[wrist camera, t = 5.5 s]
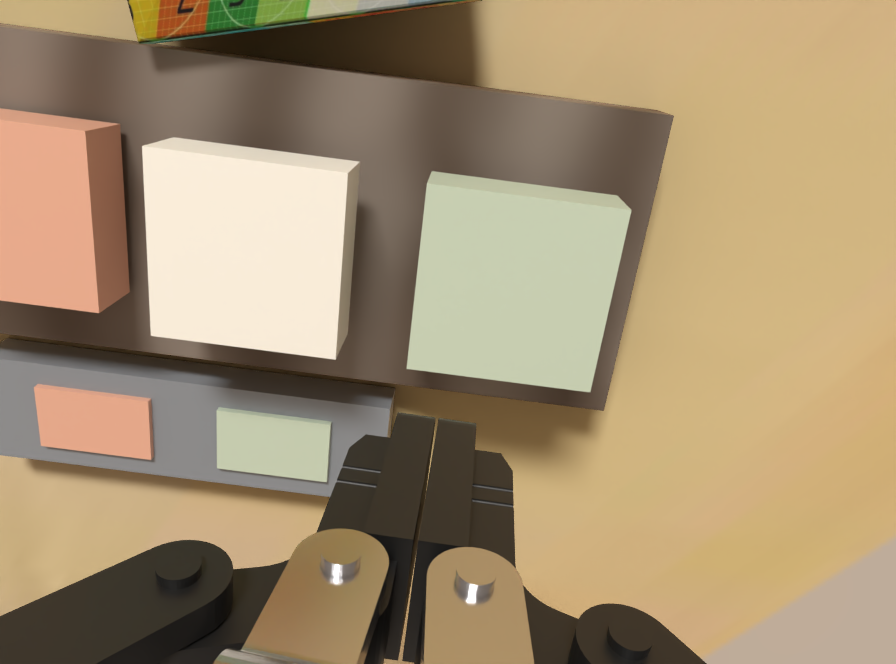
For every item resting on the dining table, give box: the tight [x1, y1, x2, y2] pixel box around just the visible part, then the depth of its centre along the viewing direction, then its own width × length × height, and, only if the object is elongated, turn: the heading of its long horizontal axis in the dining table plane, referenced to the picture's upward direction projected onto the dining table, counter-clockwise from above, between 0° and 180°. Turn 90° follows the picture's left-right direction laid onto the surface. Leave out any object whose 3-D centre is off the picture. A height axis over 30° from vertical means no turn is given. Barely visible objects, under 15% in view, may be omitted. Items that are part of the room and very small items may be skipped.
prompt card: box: [0, 338, 395, 497], centre depth 32 cm, size 18×5×2 cm, turn 83°
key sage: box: [407, 171, 631, 392], centre depth 24 cm, size 6×6×2 cm
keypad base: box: [0, 23, 674, 411], centre depth 28 cm, size 28×12×2 cm, turn 83°
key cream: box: [142, 137, 360, 360], centre depth 24 cm, size 6×6×2 cm
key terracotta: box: [0, 108, 130, 313], centre depth 25 cm, size 6×6×2 cm
